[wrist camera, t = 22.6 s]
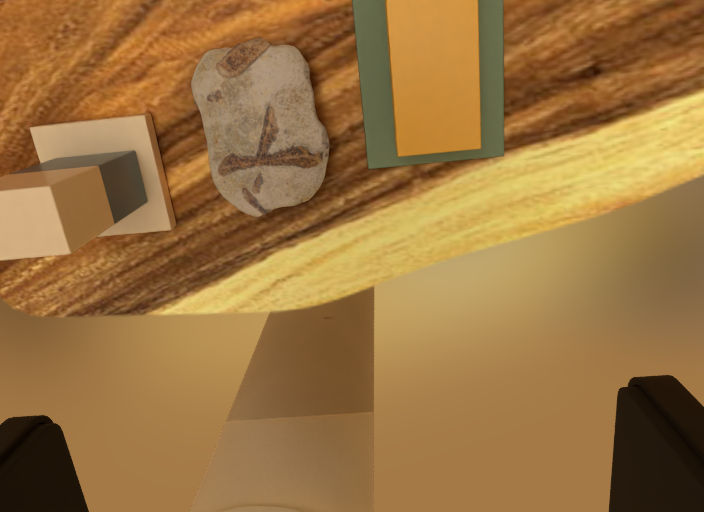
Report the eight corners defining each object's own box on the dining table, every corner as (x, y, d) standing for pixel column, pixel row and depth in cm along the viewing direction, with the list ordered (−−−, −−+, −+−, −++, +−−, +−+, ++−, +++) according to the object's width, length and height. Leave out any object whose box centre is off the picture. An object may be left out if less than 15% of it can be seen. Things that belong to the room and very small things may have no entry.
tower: (177, 225, 34) (103, 291, 25) (72, 235, 35) (-39, 302, 26) (151, 113, 32) (58, 139, 23) (39, 125, 32) (-98, 155, 23)
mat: (502, 154, 32) (504, 156, 32) (368, 167, 33) (368, 169, 32) (501, -78, 28) (502, -80, 27) (346, -58, 28) (346, -60, 28)
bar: (466, -45, 28) (477, -57, 25) (471, 139, 31) (481, 148, 28) (381, -35, 28) (382, -45, 25) (395, 146, 32) (397, 157, 29)
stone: (344, 190, 33) (342, 201, 31) (232, 217, 34) (221, 230, 31) (301, 26, 30) (295, 23, 27) (179, 60, 31) (162, 61, 28)
